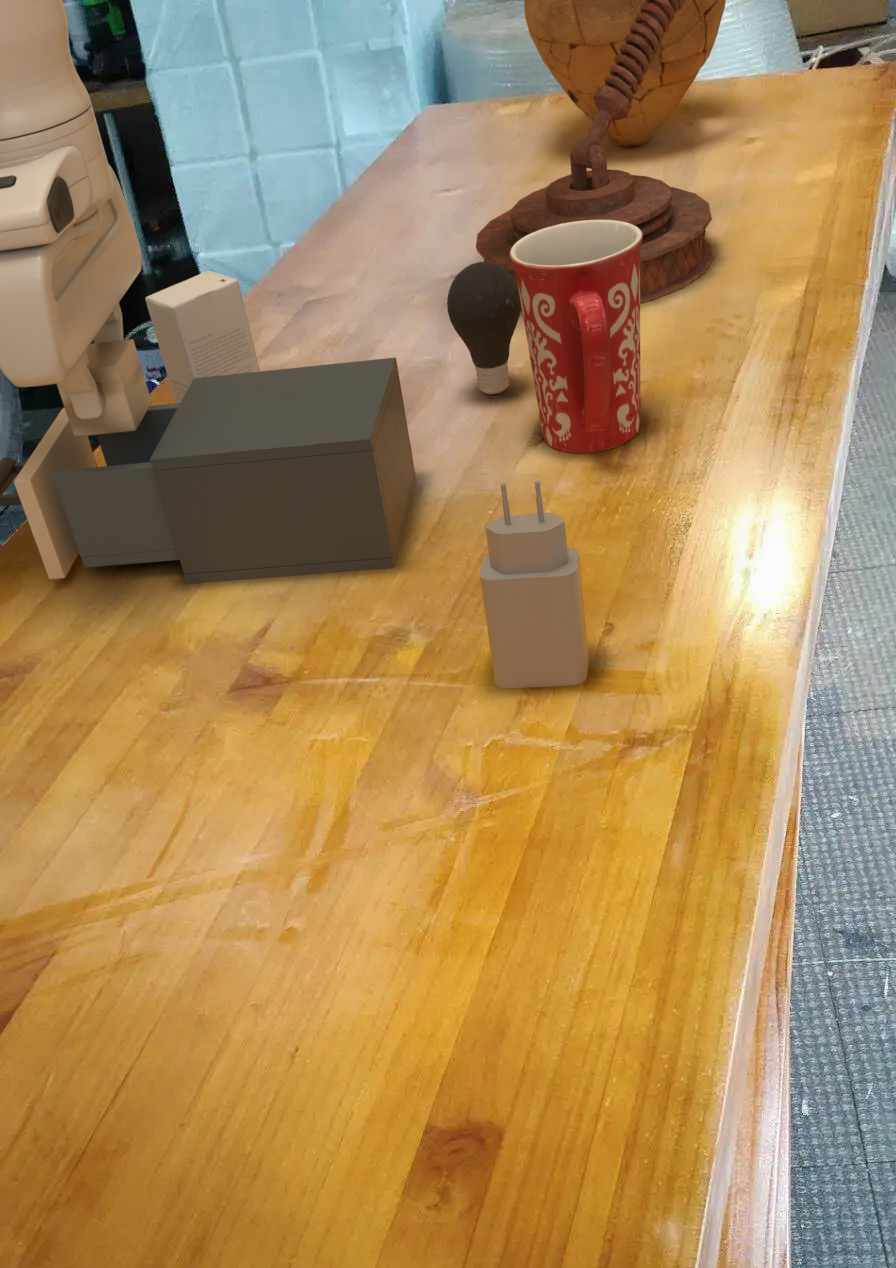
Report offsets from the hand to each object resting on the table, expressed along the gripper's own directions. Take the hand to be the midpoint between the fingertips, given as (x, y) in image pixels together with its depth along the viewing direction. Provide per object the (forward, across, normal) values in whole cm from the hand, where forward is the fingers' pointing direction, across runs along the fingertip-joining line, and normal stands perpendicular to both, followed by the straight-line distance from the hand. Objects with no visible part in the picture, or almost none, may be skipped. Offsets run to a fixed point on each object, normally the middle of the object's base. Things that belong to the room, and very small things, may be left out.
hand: (104, 395), depth 98 cm
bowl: (+11, -81, +34) cm, 88 cm away
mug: (+11, -10, +32) cm, 35 cm away
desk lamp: (+11, -44, +30) cm, 54 cm away
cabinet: (+11, 0, +12) cm, 16 cm away
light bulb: (+11, -20, +24) cm, 33 cm away
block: (+2, 0, 0) cm, 2 cm away
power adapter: (+11, +20, +30) cm, 37 cm away
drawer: (+10, 0, -1) cm, 10 cm away
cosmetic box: (+11, -16, +2) cm, 20 cm away
